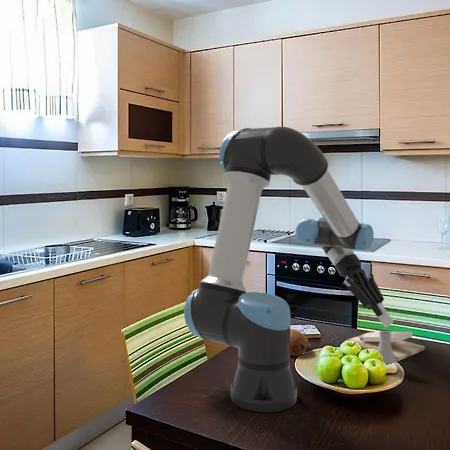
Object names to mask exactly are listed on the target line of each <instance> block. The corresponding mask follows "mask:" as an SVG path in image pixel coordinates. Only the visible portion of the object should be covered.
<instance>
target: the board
mask: <svg viewBox="0 0 450 450" xmlns="http://www.w3.org/2000/svg"><path fill="white" fill-rule="evenodd" d="M374 332H375V331H369V332H367V333H366V332H365V333H364V334H360V335H357V336H354V337H350V338H348V339H346V340H343V343H344V342H345V341H354V342H357V343H358V344H359V345H360V346H361V348H362V349H376V350H378V347H379V343H380V342H363V341H362V340H360V338H361V337H362V336H365V335H368V334H371V333H374ZM391 347H392V351H393V354H394V357H395V360H396V362H400V361H402V360H405V359H407V358H409V357H411V356H413V355H415V354H418V353H420V352H423V351H425V348H426V347H425V346H424V345H420V344H417V343H414V342H413V343H412V342H409V341H407V340H402V341H400V342H391Z"/></svg>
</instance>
